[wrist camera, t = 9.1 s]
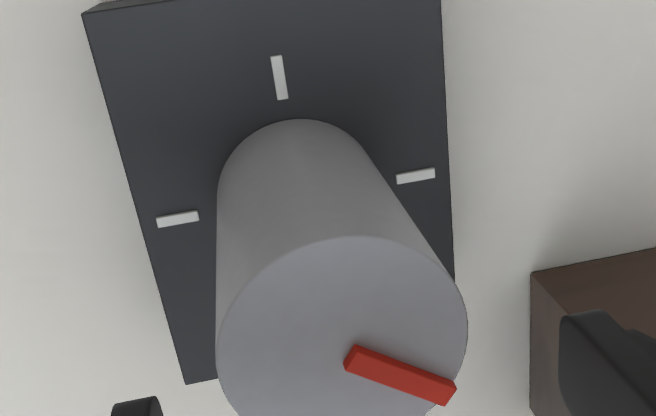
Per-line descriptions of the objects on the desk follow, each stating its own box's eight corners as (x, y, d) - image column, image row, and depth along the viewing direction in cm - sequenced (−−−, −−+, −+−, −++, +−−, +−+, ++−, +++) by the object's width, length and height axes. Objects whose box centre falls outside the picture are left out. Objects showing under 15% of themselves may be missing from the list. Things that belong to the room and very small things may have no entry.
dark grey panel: (434, 291, 28) (459, 331, 25) (188, 340, 27) (185, 388, 24) (412, -44, 22) (441, -40, 19) (98, 3, 21) (78, 14, 18)
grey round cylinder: (189, 232, 22) (170, 420, 13) (262, 88, 20) (294, 198, 12) (329, 288, 23) (390, 486, 15) (405, 161, 22) (522, 301, 13)
